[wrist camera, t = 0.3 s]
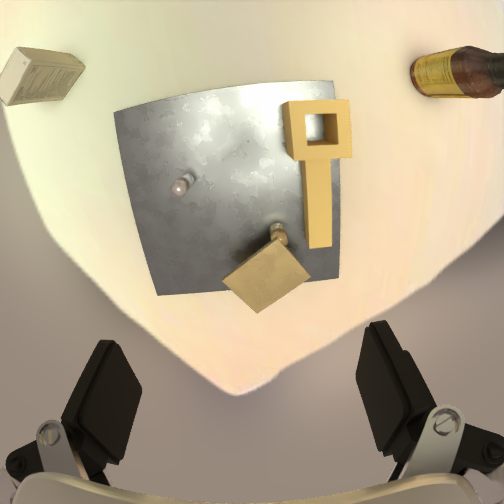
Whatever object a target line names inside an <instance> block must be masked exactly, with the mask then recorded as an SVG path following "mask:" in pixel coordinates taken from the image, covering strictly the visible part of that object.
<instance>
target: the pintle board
mask: <svg viewBox="0 0 504 504" xmlns="http://www.w3.org/2000/svg"><path fill="white" fill-rule="evenodd" d="M295 100H335V94H334V85H333V81H294V82H275V83H262V84H251V85H242V86H234V87H226V88H219V89H213V90H206V91H201V92H195V93H190V94H185V95H180V96H175V97H170V98H166V99H162V100H157V101H153V102H149V103H145V104H142V105H138V106H134V107H131V108H127V109H124V110H120V111H117V112H114V119H115V126H116V132H117V138H118V144H119V149H120V154H121V160H122V165H123V170H124V175H125V179H126V184H127V188H128V193H129V197H130V201H131V205H132V210H133V214H134V218H135V221H136V225H137V229H138V233H139V236H140V240H141V244H142V247H143V251H144V254H145V257H146V261H147V264H148V267H149V271H150V274H151V277H152V280H153V283H154V286H155V289H156V292H157V295H158V296H160V295H175V294H188V293H201V292H213V291H224V290H232V291H233V292H234V293H235V294H236V295H237V296H238V297H239V298H241V299H242V300H243V301H244V302H245V303H246V304H247V305H248V306H249V307H250V308H251V309H253V310H254V311H255V312H256V313H259V312H260V311H262V310H263V309H265V308H266V307H268V306H269V305H271V304H272V303H274V302H275V301H277V300H278V299H280V298H281V297H283V296H284V295H286V294H287V293H289V292H290V291H291V290H293V289H294V288H296V287H297V286H299V285H300V284H302V283H303V282H311V281H320V280H328V279H336V278H339V255H340V170H339V158H337V159H330V163H331V190H332V246H331V247H321V248H312V249H309V247H308V244H307V242H306V240H305V219H304V199H303V182H302V168H301V161H294V160H293V159H292V158H291V157H290V156H289V155H287V150H286V139H285V128H284V119H283V109H282V103H285V102H287V101H295ZM305 123H306V135H307V141H312V140H324V126H323V114H305Z"/></svg>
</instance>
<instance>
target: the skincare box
mask: <svg viewBox="0 0 504 504" xmlns="http://www.w3.org/2000/svg"><path fill="white" fill-rule="evenodd" d="M84 68H85V66H84V65H83V64H82V63H81V62H80V61H78V60H77V59H76V58H75V57H74V56H72V55H71V54H68V53H62V52H56V51H50V50H43V49H35V48H25V47H16V48H15V50H14V51H13V53H12V54H11V56H10V58H9V60H8V62H7V63H6V65H5V67H4V69H3V71H2V73H1V75H0V100H1V101H2V102H3V103H4V104H5V106H12V105H18V104H26V103H34V102H44V101H56V100H63V98H64V97H65V95H66V94H67V92H68V91H69V89H70V88H71V87H72V85H73V84H74V82H75V81H76V79H77V78H78V77H79V75H80V74H81V72H82V71H83V69H84Z"/></svg>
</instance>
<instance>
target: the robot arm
mask: <svg viewBox="0 0 504 504" xmlns="http://www.w3.org/2000/svg"><path fill="white" fill-rule="evenodd" d="M356 382H357V385H358V388H359V391H360V394H361V397H362V400H363V403H364V406H365V409H366V413H367V416H368V419H369V422H370V425H371V429H372V432H373V436H374V439H375V443H376V446H377V449H378V451H380V452H381V451H383V455H384V457H386V456H389V455H392V454H393V458H394V461H395V462H396V463H395V465H394V467H393V469H392V471H391V473H390V475H389V476H388V478H387V480H386V482H385V483H383V484H379V485H375V486H372V487H368V488H363V489H360V490H355V491H350V492H345V493H340V494H334V495H329V496H323V497H317V498H310V499H302V500H293V501H282V502H267V503H212V502H199V501H188V500H179V499H171V498H163V497H158V496H152V495H146V494H141V493H136V492H132V491H127V490H123V489H119V488H116V487H115V485H114V483H113V481H112V479H111V478H110V475H109V474H108V472H107V470H106V464H107V463H110V464H115V465H119V462H120V460H122V459H123V457H124V454H125V450H126V446H127V443H128V439H129V436H130V432H131V429H132V425H133V421H134V418H135V415H136V411H137V408H138V405H139V401H140V398H141V395H142V387H141V385H140V383H139V381H138V379H137V378H136V376H135V374H134V372H133V370H132V369H131V367H130V365H129V363H128V361H127V359H126V357H125V355H124V353H123V351H122V349H121V347H120V346H119V344H116V342H115V341H114V340H100V341H99V342H98V344H97V346H96V348H95V349H94V351H93V353H92V355H91V357H90V359H89V361H88V363H87V364H86V366H85V368H84V370H83V372H82V374H81V377H80V378H79V380H78V382H77V384H76V386H75V388H74V391H73V392H72V395H71V397H70V399H69V401H68V403H67V405H66V408H65V410H64V412H63V414H62V416H61V419H62V421H61V423H60V422H59V421H56V420H48V421H45V422H44V423H42V424H41V425H40V427H39V428H38V430H37V434H36V440H35V441H33V442H31V443H29V444H27V445H25V446H23V447H21V448H19V449H17V450H15V451H13V452H11V453H10V454H9V455H8V457H7V459H6V468H4V467H2V468H1V469H0V504H481V502H480V500H479V498H478V496H479V497H480V498H481V499H482V500H483V504H504V437H503V436H501V435H499V434H496V433H493V432H490V431H486V430H483V429H480V428H477V427H475V426H472V425H469V424H466V423H465V420H464V416H463V414H462V413H461V411H460V410H459V409H458V408H456V407H454V406H452V405H440V406H438V407H437V405H436V403H435V401H434V399H433V397H432V395H431V393H430V391H429V389H428V387H427V385H426V383H425V381H424V379H423V377H422V375H421V373H420V371H419V369H418V368H417V366H416V364H415V362H414V360H413V358H412V356H411V355H410V353H409V352H408V351H407V350H402V348H401V346H400V344H399V342H398V340H397V339H396V337H395V335H394V333H393V331H392V330H391V328H390V326H389V325H388V323H387V321H386V320H383V321H377V322H371V323H370V325H369V327H366V328H365V332H364V337H363V342H362V347H361V352H360V357H359V361H358V366H357V370H356ZM475 490H476V491H477V492H476V491H475Z"/></svg>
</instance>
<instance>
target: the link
mask: <svg viewBox="0 0 504 504" xmlns="http://www.w3.org/2000/svg"><path fill="white" fill-rule="evenodd" d="M282 109H283V119H284V128H285V139H286V150H287V155H289V156H290V157H291V158H292V159H293V160H294V161H301V168H302V182H303V199H304V219H305V240H306V242H307V244H308V247H309V249H312V248H321V247H331V246H332V190H331V163H330V159H337V158H352V137H351V121H350V107H349V100H295V101H287V102H285V103H282ZM305 114H323V126H324V140H312V141H307V135H306V123H305Z"/></svg>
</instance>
